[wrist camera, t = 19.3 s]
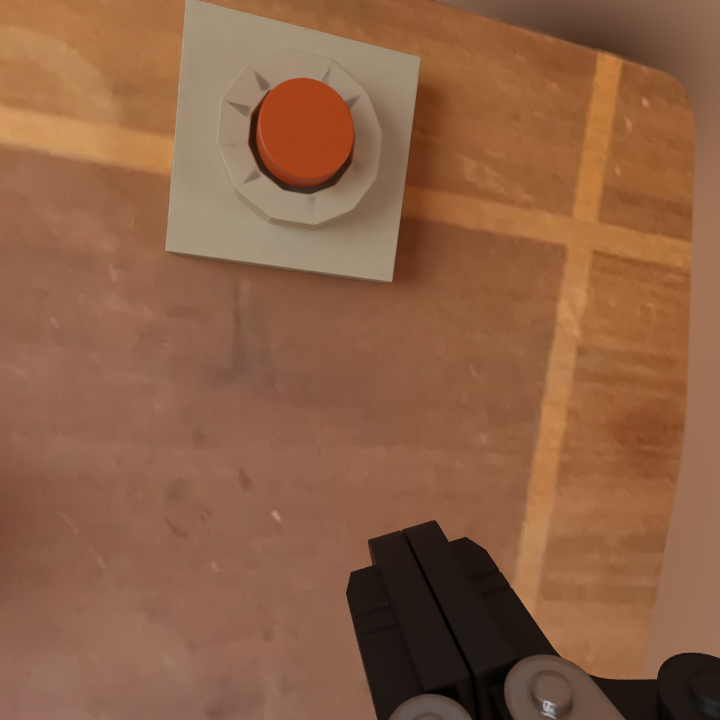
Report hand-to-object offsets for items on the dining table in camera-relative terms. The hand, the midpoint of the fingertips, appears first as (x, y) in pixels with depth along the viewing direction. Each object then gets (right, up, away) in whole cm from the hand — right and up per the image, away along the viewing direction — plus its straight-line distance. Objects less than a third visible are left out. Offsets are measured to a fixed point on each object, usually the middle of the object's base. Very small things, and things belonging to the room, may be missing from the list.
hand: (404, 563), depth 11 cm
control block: (-4, +14, +13) cm, 19 cm away
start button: (-3, +13, +10) cm, 17 cm away
